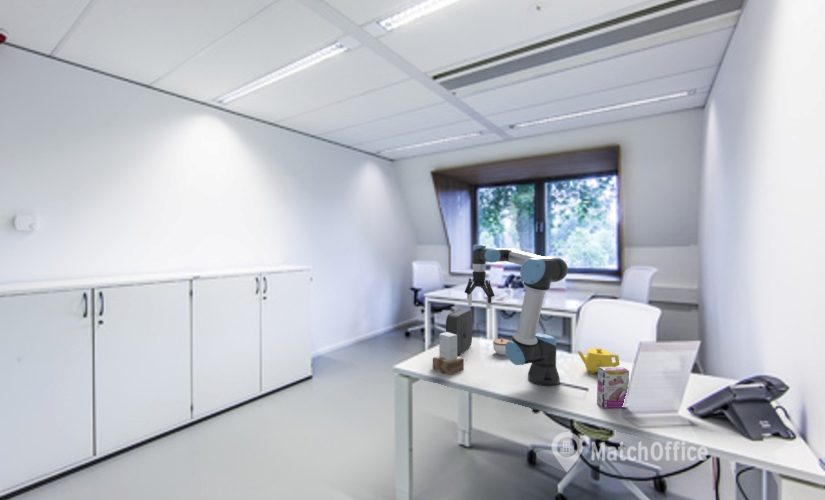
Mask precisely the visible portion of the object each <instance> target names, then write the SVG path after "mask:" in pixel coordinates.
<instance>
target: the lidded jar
mask: <svg viewBox="0 0 825 500" xmlns="http://www.w3.org/2000/svg"><path fill="white" fill-rule="evenodd" d="M509 341H510V340H509V339H505V338H496V339H494V340H492V343H493V350H494V352H495V353H496V354H497V355H499V356H507V354H506V349H505V347H506V343H507V342H509Z"/></svg>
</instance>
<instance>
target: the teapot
mask: <svg viewBox="0 0 825 500" xmlns="http://www.w3.org/2000/svg"><path fill="white" fill-rule="evenodd" d="M577 352H578V355H579V357H580V358H581V360H582V362H583V364H584V366H585V368H586V370H587V371H589V374H591V373H595V374H596V373H598V367H619V366H620V359H619V355H618V354H615V353H611V352H610V351H609V350H604V349H603V348H600V347H596V348H588V349H587V352H586V355H584V353H583V352H582V351H581V350H577ZM612 358H615V360H614V361H613V359H612Z"/></svg>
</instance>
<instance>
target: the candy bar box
mask: <svg viewBox="0 0 825 500" xmlns="http://www.w3.org/2000/svg"><path fill="white" fill-rule="evenodd" d="M596 381H597V382H596V383H597V385H596V386H597V387H596V388H597V389H596V404H597V405H598V406H599V407H600V408H602V409H623V408H622V406H623V403H624V399H625V396H626V393H627V389H628V390H629V386H630V384H629V383H630V382H629V381H630V370H629V369H627V368H625V367H623V366H616V367H598V372H597V380H596ZM628 385H629V386H628Z"/></svg>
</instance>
